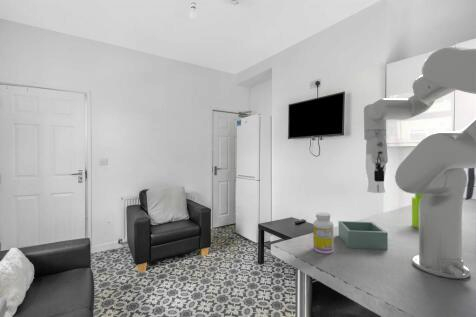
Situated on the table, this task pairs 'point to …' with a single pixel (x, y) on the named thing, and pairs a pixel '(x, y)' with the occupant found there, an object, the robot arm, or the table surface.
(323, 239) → the supplement bottle
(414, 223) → the soap dispenser
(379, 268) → the table surface
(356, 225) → the box
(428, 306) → the table surface
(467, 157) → the robot arm
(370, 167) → the beer glass
